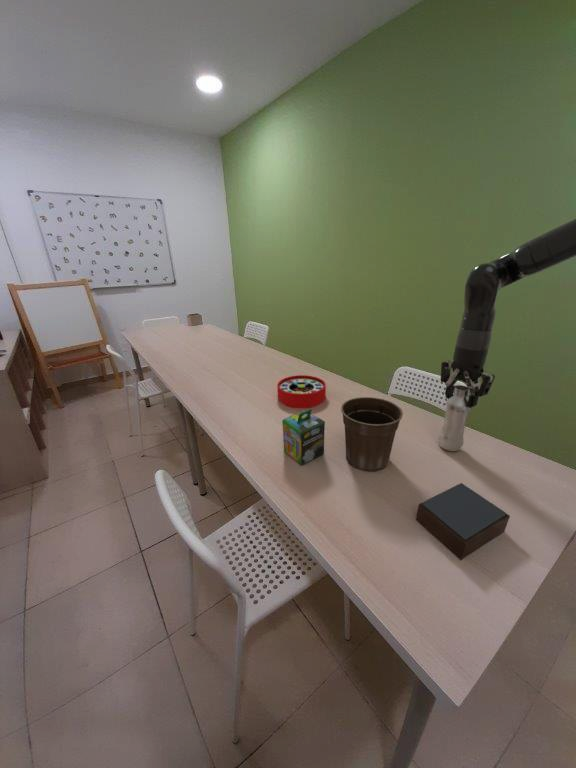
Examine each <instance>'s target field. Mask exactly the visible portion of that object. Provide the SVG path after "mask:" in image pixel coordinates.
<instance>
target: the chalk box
mask: <svg viewBox="0 0 576 768" xmlns="http://www.w3.org/2000/svg"><path fill="white" fill-rule="evenodd" d="M281 422H282V437H283V438H282V439H283V451H284V453H286V454H287V455H288V456H290V458H292V459H293V460H294V461H296V462H297V463H298V464H299V465H300V466H304V465H306V464H307V463H309V462H311V461H313V460H315V459H316V458H317V459H318V458H319V457H320V456H322V455H324V454H325V428H326V427H325V426H326V421H325V420H323V419H322V418H319V416H316V415H315V414H313V413H312V408H309V409H304V410H301V411H299V412H297V413H294V414H292V415H289V416H288V417H286V418H285V417H284V418H283V419H282V421H281Z"/></svg>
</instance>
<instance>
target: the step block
mask: <svg viewBox="0 0 576 768" xmlns="http://www.w3.org/2000/svg"><path fill="white" fill-rule="evenodd" d="M510 518H511V515H509V514H508V513H507V512H506V511H504V510H503V509H502V508H499V507H498V506H496V504H494V503H492V502H490V501H489V500H488V499H487V498H484V497H483V496H482V495H480V494H479V493H477V492H476V491H474V490H473V489H472V488H470V487H468V486H467V485H466V484H464V483H462V482H460V483H459V484H456V485H454V486H452V487H450V488H448V489H446V490H445V491H442V492H440V493H439V494H438V493H437V494H436V495H434V496H433V497H430V498H428V499H426V500H424V501H422V502H419V503H418V506H417V511H416V516H415V521H416V522H417V523H419V524H420V525H421V527H423V528H424V529H425V530H426V531H427V532H429V533H430V534H431V535H432V536H433V537H434V538H435V539H436V540H437V541H438V542H440V543H441V544H442V545H443V546H444V547H445V548H446V549H447V550H448V551H450V552H451V553H452V554H453V555H454V556H455V557H456V558H457V559H459V560H460V561H462V560H464V559H465V558H467V557H468V556H470V555H471V554H473V553H474V552H475V551H477V550H478V549H480V548H482V547H484V546H485V545H486V544H488V543H489V542H492V540H495V539H496V538H498V537H499V536H500V535H502V534H503V533H505V532H506V528H507V526H508V522H509V520H510Z"/></svg>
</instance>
